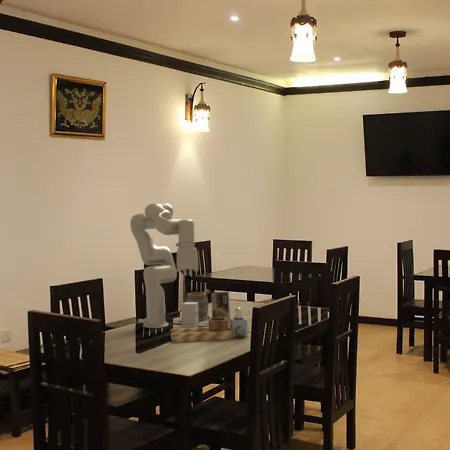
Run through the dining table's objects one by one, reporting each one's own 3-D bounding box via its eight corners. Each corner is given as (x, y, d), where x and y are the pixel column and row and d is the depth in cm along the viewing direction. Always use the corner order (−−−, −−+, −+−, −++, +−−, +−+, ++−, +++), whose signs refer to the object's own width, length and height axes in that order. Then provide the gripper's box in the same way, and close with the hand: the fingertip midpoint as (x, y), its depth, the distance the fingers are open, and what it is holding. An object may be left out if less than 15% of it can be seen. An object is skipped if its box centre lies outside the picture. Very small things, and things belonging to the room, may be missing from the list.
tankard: (200, 321, 371) (199, 293, 370) (181, 320, 377) (180, 292, 377) (220, 315, 388) (219, 288, 387) (201, 314, 394) (200, 288, 394)
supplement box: (195, 329, 350) (194, 304, 350) (181, 328, 352) (180, 304, 351) (199, 326, 358) (198, 301, 357) (185, 326, 359) (184, 301, 359)
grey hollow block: (233, 338, 324) (233, 321, 323) (230, 334, 334) (230, 317, 333) (248, 337, 325) (247, 320, 324) (245, 333, 335) (244, 317, 334)
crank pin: (236, 325, 328) (236, 308, 328) (234, 324, 332) (234, 307, 331) (242, 325, 329) (242, 308, 329) (240, 324, 332) (240, 307, 332)
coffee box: (230, 321, 369) (229, 291, 368) (229, 323, 362) (228, 292, 362) (213, 321, 369) (212, 291, 369) (212, 324, 363) (211, 293, 362)
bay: (172, 342, 320) (171, 330, 320) (170, 336, 333) (170, 325, 333) (232, 338, 324) (232, 327, 323) (228, 333, 337) (228, 322, 336)
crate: (211, 336, 324) (210, 321, 324) (209, 332, 334) (208, 317, 333) (228, 335, 325) (227, 320, 325) (225, 331, 335) (225, 317, 334)
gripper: (171, 246, 327) (172, 285, 328) (203, 245, 329) (204, 283, 330) (170, 245, 335) (171, 283, 335) (201, 244, 337) (202, 282, 337)
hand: (188, 283), depth 333 cm, fingers closed
